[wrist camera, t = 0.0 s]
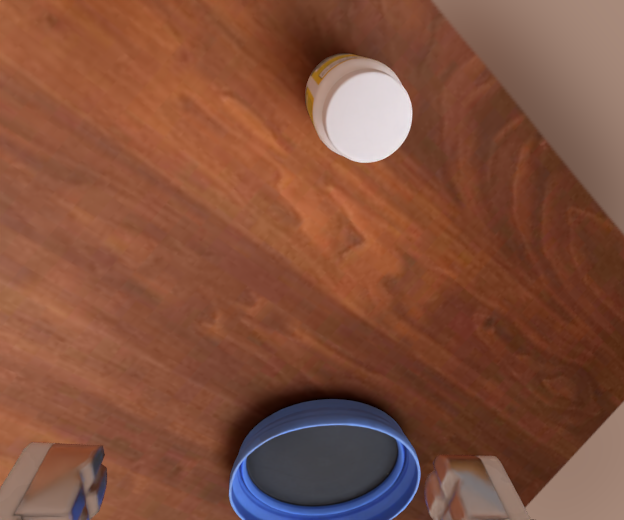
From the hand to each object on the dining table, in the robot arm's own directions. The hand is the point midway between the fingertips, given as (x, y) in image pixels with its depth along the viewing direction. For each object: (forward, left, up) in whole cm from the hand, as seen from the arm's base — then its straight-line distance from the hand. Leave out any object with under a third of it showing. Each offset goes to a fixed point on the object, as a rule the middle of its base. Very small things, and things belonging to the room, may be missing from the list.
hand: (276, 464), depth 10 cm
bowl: (+28, +8, -21) cm, 36 cm away
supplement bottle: (-6, +4, -21) cm, 22 cm away
